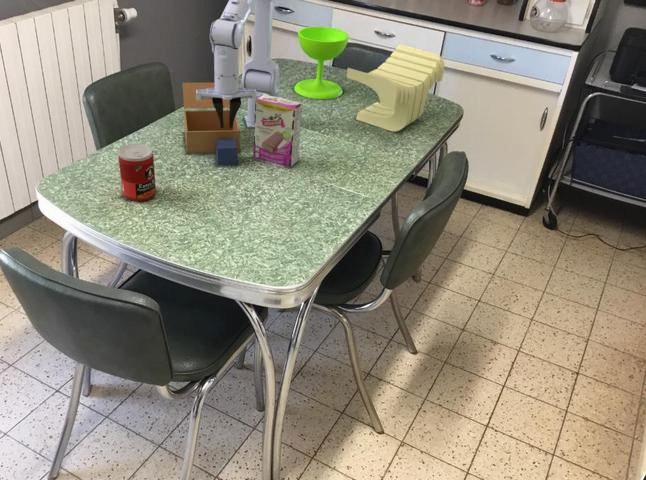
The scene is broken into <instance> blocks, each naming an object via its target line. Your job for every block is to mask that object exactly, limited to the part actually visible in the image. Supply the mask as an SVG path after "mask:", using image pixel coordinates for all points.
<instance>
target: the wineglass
mask: <svg viewBox="0 0 646 480" xmlns="http://www.w3.org/2000/svg"><path fill="white" fill-rule="evenodd" d="M349 37H350V35H349V33H348V32H346V31H344V30H342V29H340V28H339V29H338V28H334V27H330V26H329V27H328V26H308V27H303V28H300V29H299V30H298V32H297V39H298V40H297V41H298V43H299V46H300V48H301V50H302V52H303V53H304V54H305V55H306V56H308V57H309V58H310V59H313V60H315V61H317V67H316V78H307V79H303V80H300V81H298V82H297V83H296V84H295V85H294V87H293V89H294V92H295V93H296V94H297V95H299V96H302V97H305V98H308V99H314V100H331V99H336V98H338V97H340V96H342V94H343V93H344V92H343V89H342V87H341V86H340V85H339V84H338V83H336V82H334V81H331V80H327V79H323V76H324V65H325V62H326V61H332V60H333V59H336V58H337V57H338V56H340V54H342V53H343V52H344V50H345V49H346V46H347V44H348V42H349Z"/></svg>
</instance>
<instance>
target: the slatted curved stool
mask: <svg viewBox="0 0 646 480" xmlns="http://www.w3.org/2000/svg"><path fill="white" fill-rule="evenodd" d="M444 71H445V61H444V59H443V57H442V56H441V55H439V54H438V53H435V52H431V51H428V50H425V49H420V48H416V47H413V46H408V45H406V44H402V43H399V44H397V46H396V48H395V50H393V51H392V53H391V54H390V56H389V57H387V59H385V62H383V63H382V64H381V65H379V66H378V67H377V69H376V68H375V69H373V70H371V71H369V72H364V71H361V70H359V69H354V68H351V67H347V70H346V78H347V79H350V80H352V81H356V82H358V83H361V84H362V85H365V86H367V87H369V88H371V89H372V90H373V91H374V92H375V93H376V94H377V96H378V98H379V102H377V101H376V102H374V103H373V104H371V105H369V106H367V107H365V108H364V109H362V110H360V111H358V112H357V115H356V118H355V120H357V121H360V122H363V123H365V124H368V125H371V126H375V127H377V128H380V129H382V130H383V129H384V130H387V131H390V132H394V133H395V132H399V131H401V130H403V129H404V128H405V127H407V126H409V125H411V124H412V123H413V122H415V121H416V120H418V119H420V118H421V117H422V116H423V114H424V109H425V105H426V102H427V99H428V96H429V94H430V93H429V92H430V90H432V89H433V87H434V85H435V84H437V83H439V82H442V81H443V77H444Z"/></svg>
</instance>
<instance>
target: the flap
mask: <svg viewBox="0 0 646 480" xmlns="http://www.w3.org/2000/svg"><path fill="white" fill-rule="evenodd" d="M208 88H215V82H182V96H183V97H182V98H183V109H215V107H214V105H213V102H212V99H201V100H197V98H196V90H200V89H208ZM222 100H223V109H230V100H225V99H222Z"/></svg>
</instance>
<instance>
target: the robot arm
mask: <svg viewBox="0 0 646 480" xmlns="http://www.w3.org/2000/svg"><path fill="white" fill-rule="evenodd" d="M252 2H253V0H228V2H227V3H226V6H225V7H224V10H223V11H222V14H221V15H220V18H219V19H216V20H213V21H212V22H211V25H210V28H209V29H210V30H209V42H210V44H211V52H212V54H213V65H214V66H213V68H214V69H213V70H214V72H213V73H214V74H213V75H214V77H213V78H214V83H215V88H208V89H200V90H196V98H197V100H201V99H212V102H213V105H214V107H215V108H214V110H216V112H217V114H218V117H219V120H220V127H221V128H224V123H223V110H224V108H223V100H222V99H225V100H230V108H229V110H230V115H229V126H230V128H233V123H234V119H235V116H236V117H237V114H238V111H239V110H240V108H241V106H242V99H247V111H246V112H247V113H246V115H244V120H245V123H246V127H247V128H254V127H255V126H254V125H255V100H256V99H257V98H258V97H260V96H261V95H262V94H267V95H272V96H276V97H280V98H281V94H280V92H278V91H279V89H280V84H281V75H280V66H279V64H278V63H276V62H275V61H274V60H273V59H272V58H271V50H272V36H273V22H274V21H273V20H274V5H275V0H255V8H254V24H253V25H254V26H253V27H254V28H253V44H252V45H253V47H252V58H250V59H248V60H247V61H246V62H245V63H244V65H243V71H242V74H241V87H239V61H240V59H239V57H240V56H239V55H240V53H239V52H240V51H239V50H240V47H241V45H242V43H243V38H244V34H245V26H246V23H247V21H248V19H249V17H250V15H251V12H252V10H251V6H250V5H251V3H252Z"/></svg>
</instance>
